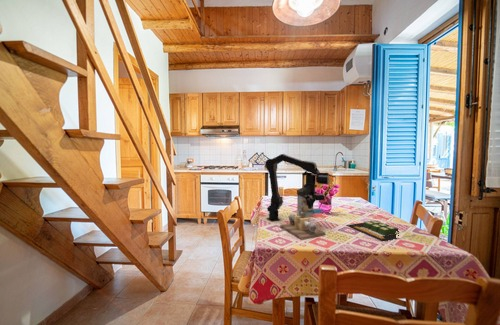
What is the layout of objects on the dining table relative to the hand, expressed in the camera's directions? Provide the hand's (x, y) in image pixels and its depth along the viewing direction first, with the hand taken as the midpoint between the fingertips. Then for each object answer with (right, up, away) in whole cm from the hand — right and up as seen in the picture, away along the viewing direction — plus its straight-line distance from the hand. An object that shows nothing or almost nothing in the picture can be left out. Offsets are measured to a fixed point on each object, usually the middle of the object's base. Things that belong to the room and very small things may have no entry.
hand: (309, 208), depth 137 cm
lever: (-1, -1, -7) cm, 7 cm away
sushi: (+38, -12, -6) cm, 41 cm away
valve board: (-7, -11, -9) cm, 15 cm away
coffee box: (+2, -9, +20) cm, 22 cm away
